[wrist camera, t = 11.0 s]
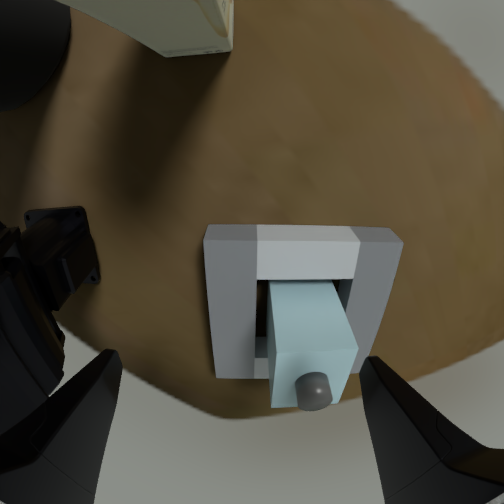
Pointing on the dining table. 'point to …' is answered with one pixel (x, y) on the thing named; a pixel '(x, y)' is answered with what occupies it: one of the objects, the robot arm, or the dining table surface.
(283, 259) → the socket block
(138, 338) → the dining table surface
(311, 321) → the plug
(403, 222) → the dining table surface
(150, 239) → the dining table surface
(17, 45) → the coffee jar
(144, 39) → the skincare box
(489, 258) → the dining table surface
